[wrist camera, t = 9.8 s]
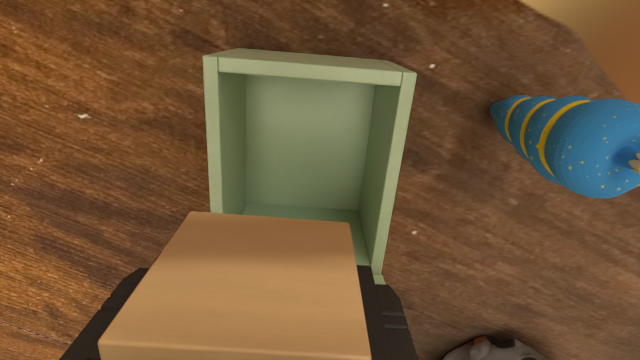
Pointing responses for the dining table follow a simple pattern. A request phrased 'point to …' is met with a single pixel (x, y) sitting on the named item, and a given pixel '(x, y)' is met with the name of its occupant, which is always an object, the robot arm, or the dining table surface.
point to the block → (246, 294)
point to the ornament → (575, 140)
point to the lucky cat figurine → (494, 350)
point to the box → (307, 139)
